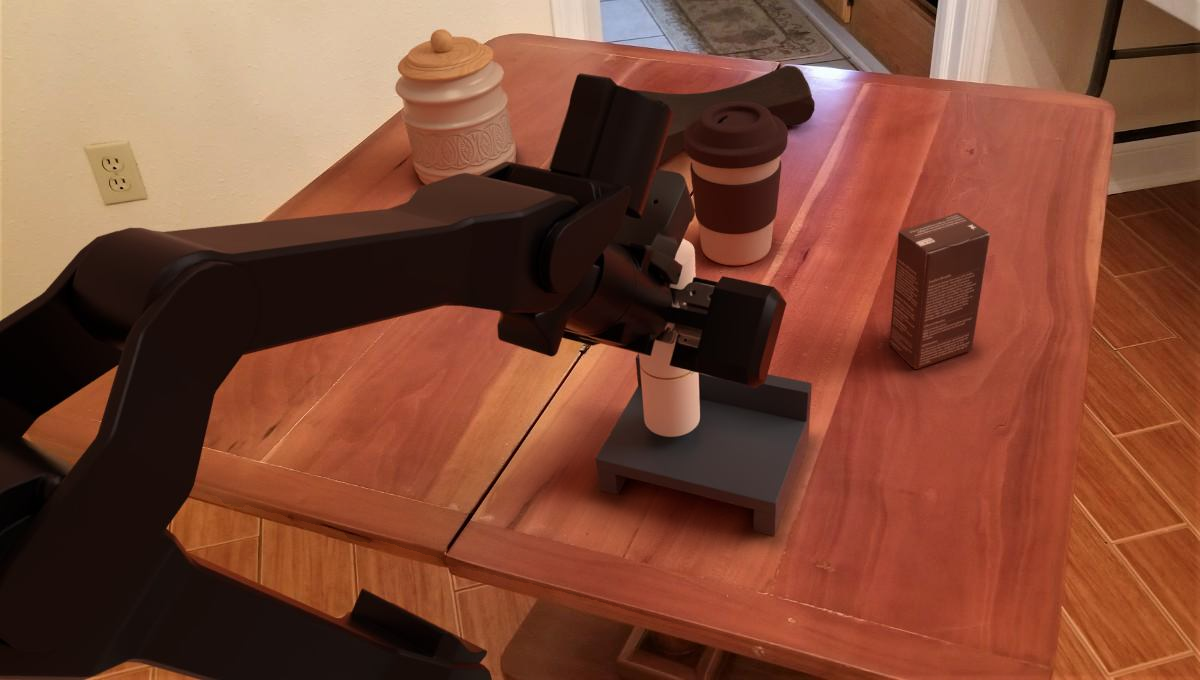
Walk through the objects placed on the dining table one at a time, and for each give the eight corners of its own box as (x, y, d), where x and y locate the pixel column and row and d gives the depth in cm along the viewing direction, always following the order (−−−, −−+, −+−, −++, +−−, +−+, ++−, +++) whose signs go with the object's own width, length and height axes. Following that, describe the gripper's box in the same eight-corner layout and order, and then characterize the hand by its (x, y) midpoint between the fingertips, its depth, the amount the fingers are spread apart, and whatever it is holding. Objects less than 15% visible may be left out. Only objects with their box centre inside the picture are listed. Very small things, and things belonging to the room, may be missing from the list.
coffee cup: (802, 257, 96) (808, 121, 87) (716, 285, 93) (713, 148, 84) (753, 214, 103) (754, 85, 94) (672, 239, 101) (665, 109, 92)
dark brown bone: (607, 203, 112) (799, 163, 122) (629, 146, 103) (834, 108, 113) (574, 133, 116) (763, 100, 126) (592, 73, 107) (794, 42, 117)
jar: (513, 189, 113) (488, 46, 102) (407, 197, 114) (372, 56, 103) (522, 140, 123) (501, 6, 112) (425, 148, 124) (395, 15, 113)
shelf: (774, 536, 68) (776, 474, 64) (599, 490, 73) (590, 430, 69) (808, 443, 75) (812, 382, 71) (645, 407, 80) (640, 348, 76)
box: (941, 324, 85) (959, 209, 78) (972, 352, 82) (995, 235, 74) (883, 343, 84) (896, 227, 77) (913, 372, 81) (930, 254, 73)
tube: (672, 445, 70) (662, 277, 61) (632, 418, 72) (617, 254, 63) (711, 416, 72) (708, 250, 63) (671, 391, 74) (663, 229, 65)
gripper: (780, 176, 51) (829, 247, 65) (494, 131, 59) (593, 203, 73) (727, 374, 50) (788, 402, 64) (444, 302, 58) (554, 341, 72)
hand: (675, 329), depth 68 cm, fingers closed on tube, 4 cm apart
